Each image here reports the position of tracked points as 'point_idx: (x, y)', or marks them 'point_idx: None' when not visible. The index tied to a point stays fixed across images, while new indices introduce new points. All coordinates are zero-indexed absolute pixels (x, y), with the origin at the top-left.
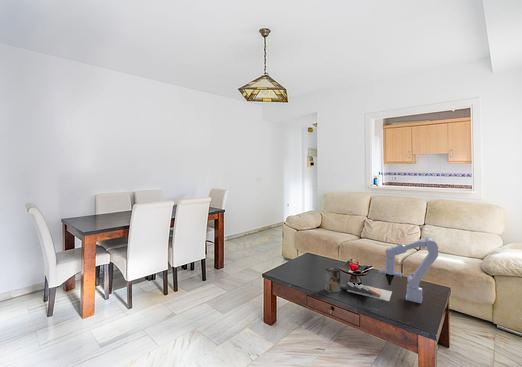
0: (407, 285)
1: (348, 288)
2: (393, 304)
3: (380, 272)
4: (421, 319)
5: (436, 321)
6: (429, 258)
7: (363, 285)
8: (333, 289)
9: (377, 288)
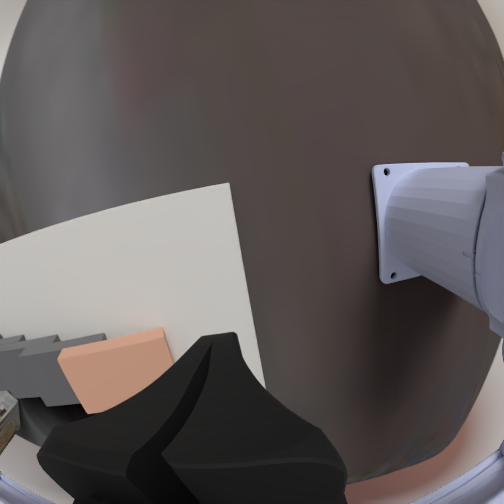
0: (485, 291)
1: None
2: (306, 405)
3: (14, 491)
4: (437, 420)
5: (482, 385)
6: None
7: (26, 365)
8: (12, 429)
9: (85, 218)
